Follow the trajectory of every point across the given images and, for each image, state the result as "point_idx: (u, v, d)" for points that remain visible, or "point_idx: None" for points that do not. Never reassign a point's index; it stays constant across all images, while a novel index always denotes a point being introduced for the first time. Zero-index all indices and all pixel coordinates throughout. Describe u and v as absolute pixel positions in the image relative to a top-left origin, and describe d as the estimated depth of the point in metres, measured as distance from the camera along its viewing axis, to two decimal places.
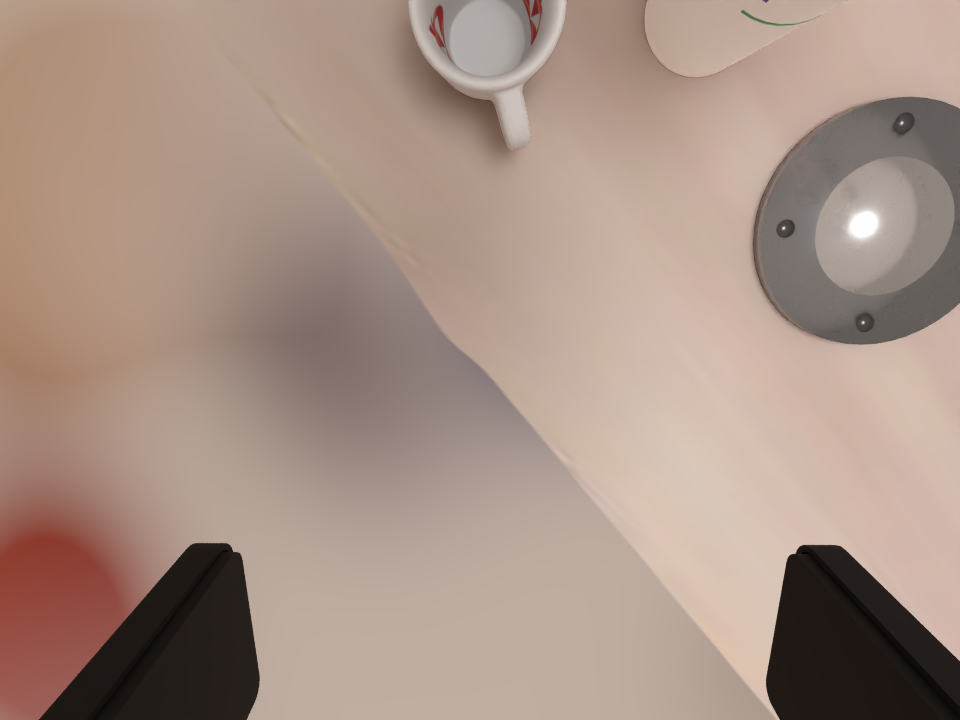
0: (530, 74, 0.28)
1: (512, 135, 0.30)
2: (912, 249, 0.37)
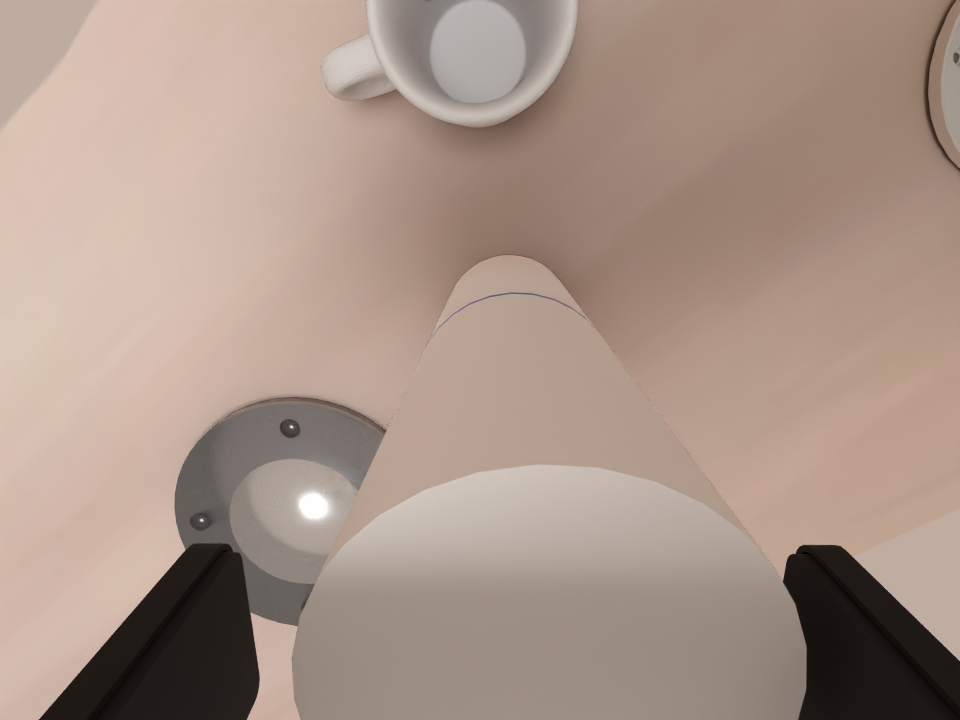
0: (388, 76, 0.21)
1: (326, 62, 0.22)
2: (283, 552, 0.35)
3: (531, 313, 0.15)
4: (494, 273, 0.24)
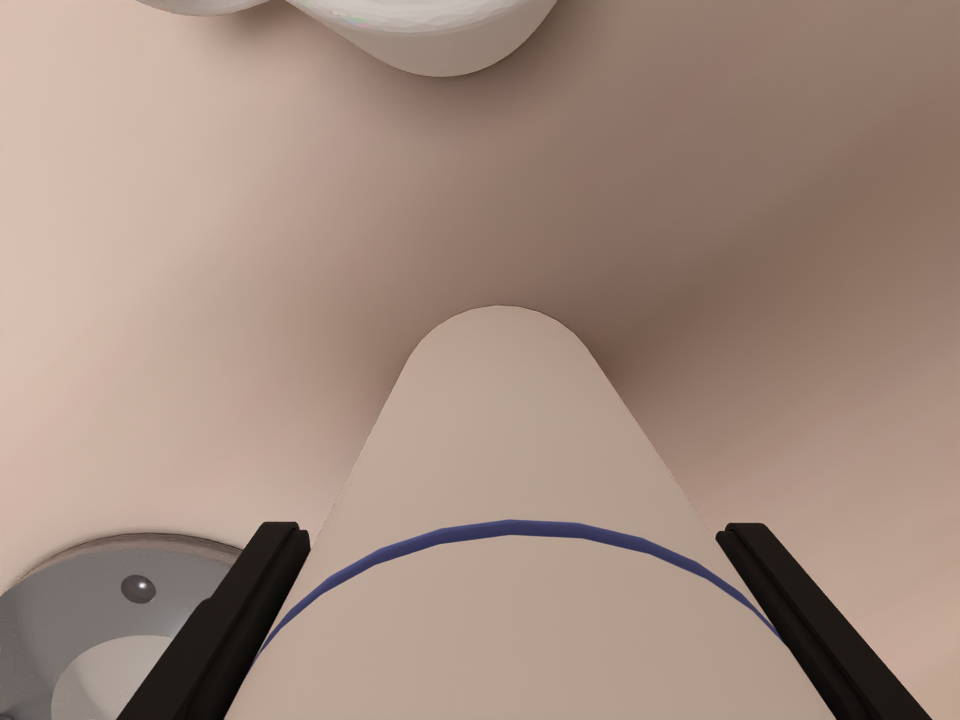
0: None
1: None
2: None
3: None
4: (469, 373, 0.11)
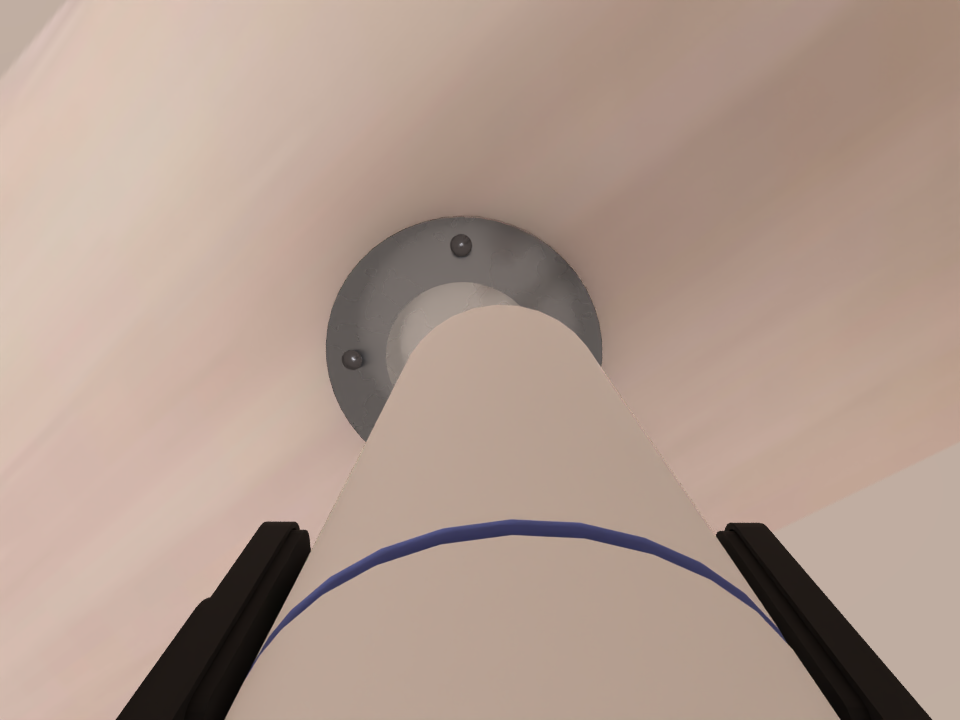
0: None
1: None
2: None
3: None
4: (470, 372, 0.11)
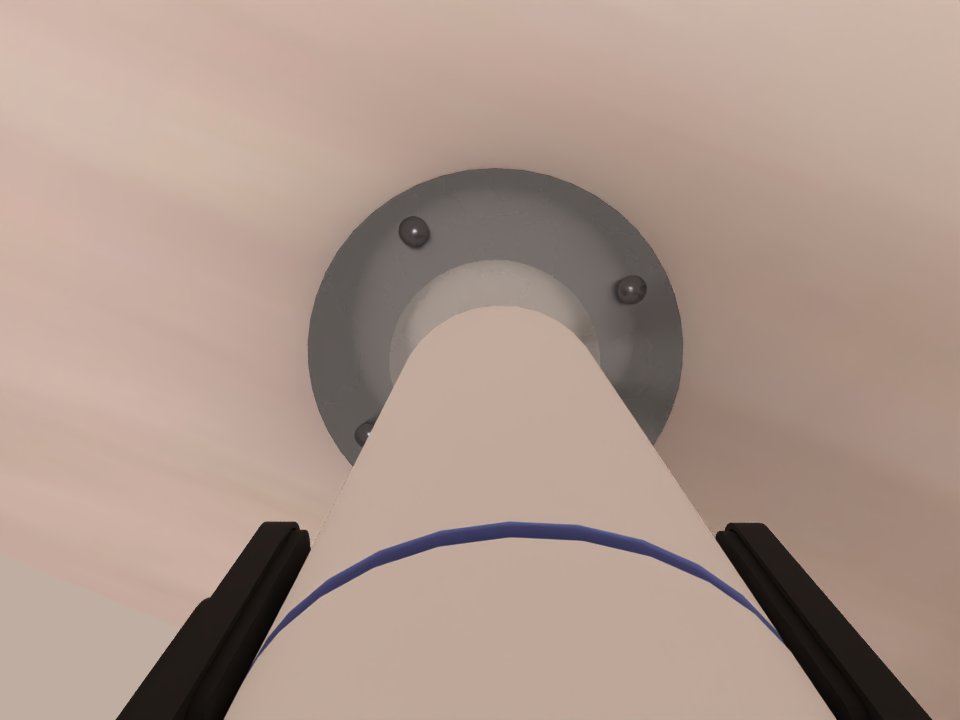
0: None
1: None
2: None
3: None
4: (469, 373, 0.11)
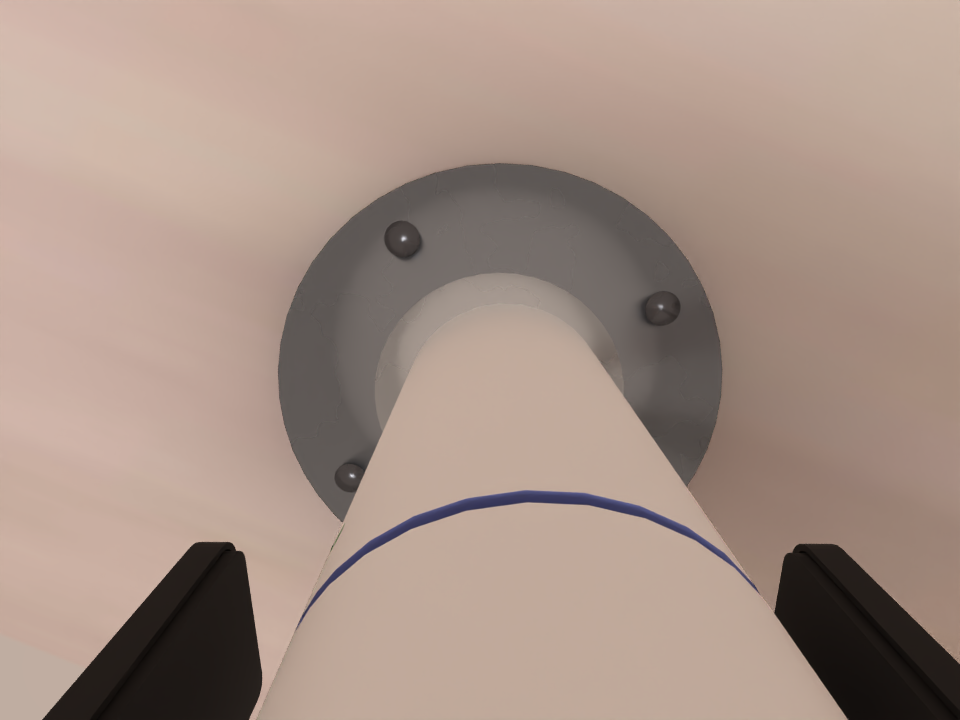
0: None
1: None
2: None
3: None
4: (481, 366, 0.12)
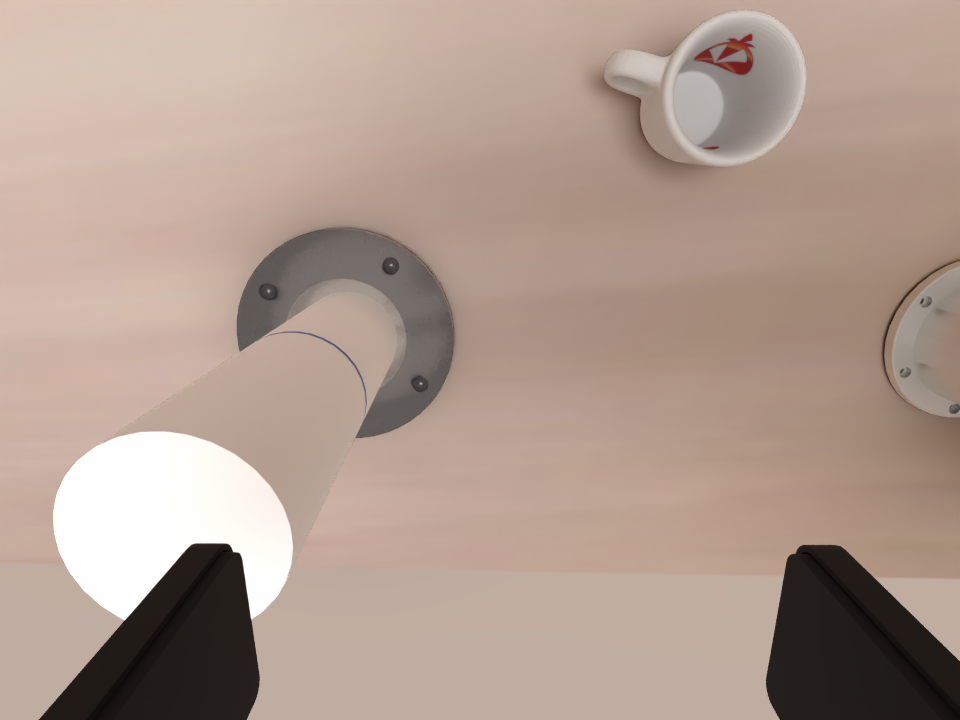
0: (664, 92, 0.30)
1: (627, 54, 0.31)
2: None
3: (237, 354, 0.24)
4: None
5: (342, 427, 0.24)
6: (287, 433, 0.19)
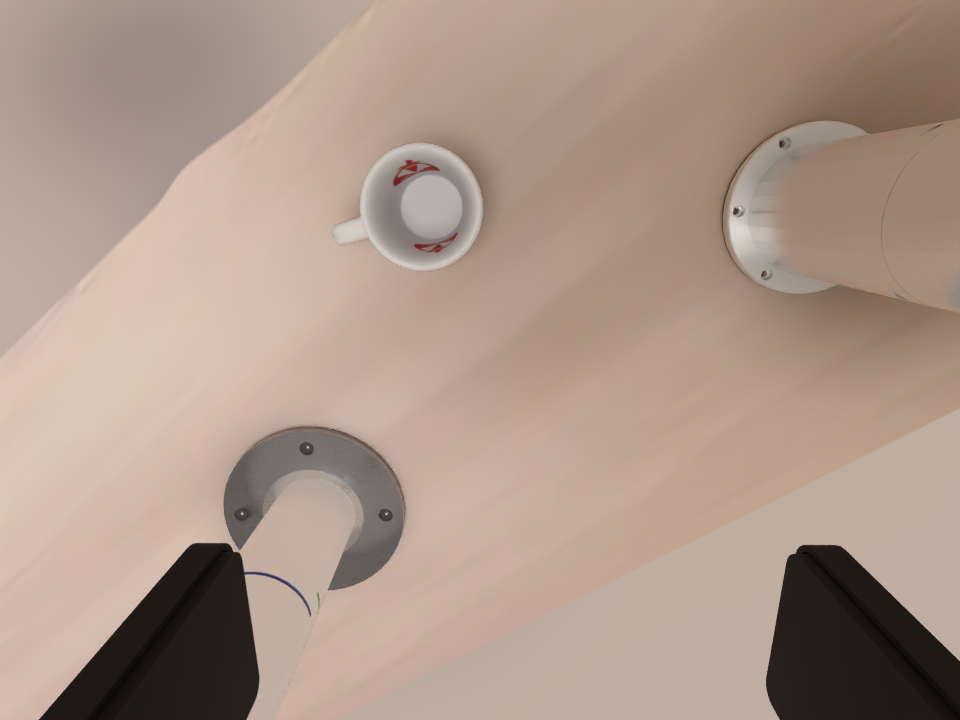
0: (373, 244, 0.36)
1: (335, 230, 0.37)
2: None
3: None
4: None
5: (262, 649, 0.31)
6: None
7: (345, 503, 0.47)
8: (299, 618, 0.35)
